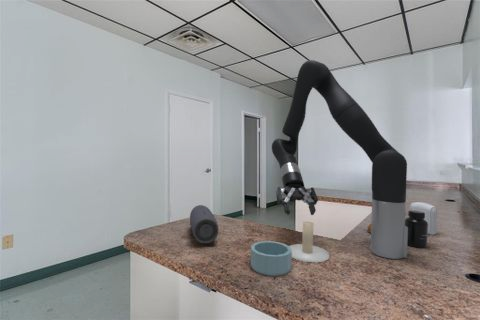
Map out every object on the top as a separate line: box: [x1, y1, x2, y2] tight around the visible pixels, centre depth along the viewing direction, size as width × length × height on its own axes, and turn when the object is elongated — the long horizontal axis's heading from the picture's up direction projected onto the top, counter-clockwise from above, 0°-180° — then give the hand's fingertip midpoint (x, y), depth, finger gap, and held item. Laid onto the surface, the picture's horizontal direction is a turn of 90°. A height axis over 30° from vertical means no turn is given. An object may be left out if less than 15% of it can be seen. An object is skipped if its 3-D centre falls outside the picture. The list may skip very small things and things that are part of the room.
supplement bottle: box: [405, 209, 429, 249], centre depth 88 cm, size 7×7×12 cm
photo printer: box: [409, 201, 438, 236], centre depth 105 cm, size 10×4×12 cm, turn 13°
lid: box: [288, 221, 330, 264], centre depth 77 cm, size 13×13×10 cm
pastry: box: [366, 223, 371, 233], centre depth 102 cm, size 9×7×4 cm
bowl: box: [250, 240, 293, 277], centre depth 68 cm, size 11×11×5 cm
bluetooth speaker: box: [189, 204, 220, 244], centre depth 91 cm, size 23×9×10 cm, turn 14°
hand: (301, 213), depth 83 cm, fingers open, 8 cm apart
